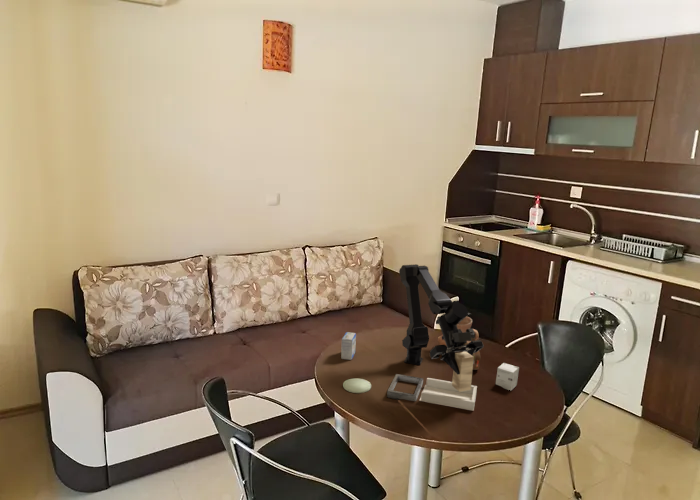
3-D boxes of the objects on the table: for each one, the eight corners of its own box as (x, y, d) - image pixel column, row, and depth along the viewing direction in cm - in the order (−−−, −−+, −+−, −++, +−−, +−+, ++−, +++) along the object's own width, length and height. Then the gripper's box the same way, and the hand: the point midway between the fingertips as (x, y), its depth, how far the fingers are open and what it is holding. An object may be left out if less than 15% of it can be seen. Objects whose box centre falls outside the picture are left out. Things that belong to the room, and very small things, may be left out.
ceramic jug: (429, 350, 217) (432, 318, 214) (442, 339, 229) (445, 309, 226) (470, 362, 208) (473, 329, 205) (481, 350, 220) (485, 319, 216)
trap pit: (395, 380, 189) (396, 373, 188) (422, 384, 186) (423, 378, 185) (387, 397, 176) (387, 390, 175) (415, 403, 173) (416, 396, 172)
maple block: (451, 385, 176) (454, 353, 173) (463, 383, 177) (466, 351, 175) (459, 391, 172) (462, 358, 169) (470, 389, 173) (473, 356, 171)
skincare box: (495, 386, 187) (497, 367, 186) (501, 380, 192) (503, 362, 191) (511, 391, 184) (513, 372, 182) (517, 385, 189) (519, 366, 187)
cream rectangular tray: (425, 386, 185) (425, 377, 184) (476, 395, 180) (477, 386, 179) (419, 402, 174) (420, 392, 173) (473, 412, 168) (474, 402, 168)
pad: (348, 377, 189) (348, 376, 189) (374, 382, 186) (374, 381, 186) (339, 390, 180) (339, 388, 180) (366, 395, 177) (366, 393, 177)
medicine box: (351, 360, 204) (352, 340, 203) (340, 359, 205) (341, 338, 203) (355, 352, 212) (356, 332, 210) (344, 351, 213) (345, 331, 211)
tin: (460, 357, 211) (462, 338, 210) (468, 357, 212) (470, 338, 210) (472, 373, 197) (474, 353, 195) (480, 373, 197) (482, 353, 195)
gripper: (436, 323, 170) (451, 368, 162) (483, 318, 176) (500, 361, 169) (423, 336, 178) (437, 380, 171) (468, 331, 185) (483, 372, 178)
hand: (465, 373), depth 172 cm, fingers closed on maple block, 4 cm apart
